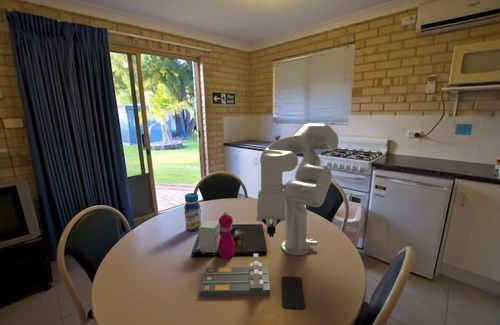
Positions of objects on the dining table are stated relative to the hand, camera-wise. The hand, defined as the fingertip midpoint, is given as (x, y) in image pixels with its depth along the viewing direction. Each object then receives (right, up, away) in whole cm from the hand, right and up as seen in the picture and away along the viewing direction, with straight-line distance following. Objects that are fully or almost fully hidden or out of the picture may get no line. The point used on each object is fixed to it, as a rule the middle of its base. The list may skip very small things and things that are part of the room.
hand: (271, 235), depth 89 cm
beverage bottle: (-38, -10, +40) cm, 56 cm away
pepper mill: (-18, -14, +17) cm, 28 cm away
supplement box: (-26, -13, +21) cm, 36 cm away
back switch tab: (-5, -14, +3) cm, 15 cm away
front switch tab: (-5, -16, -6) cm, 18 cm away
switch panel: (-13, -17, -1) cm, 21 cm away
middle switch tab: (-5, -15, -2) cm, 16 cm away
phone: (+7, -18, -6) cm, 21 cm away
